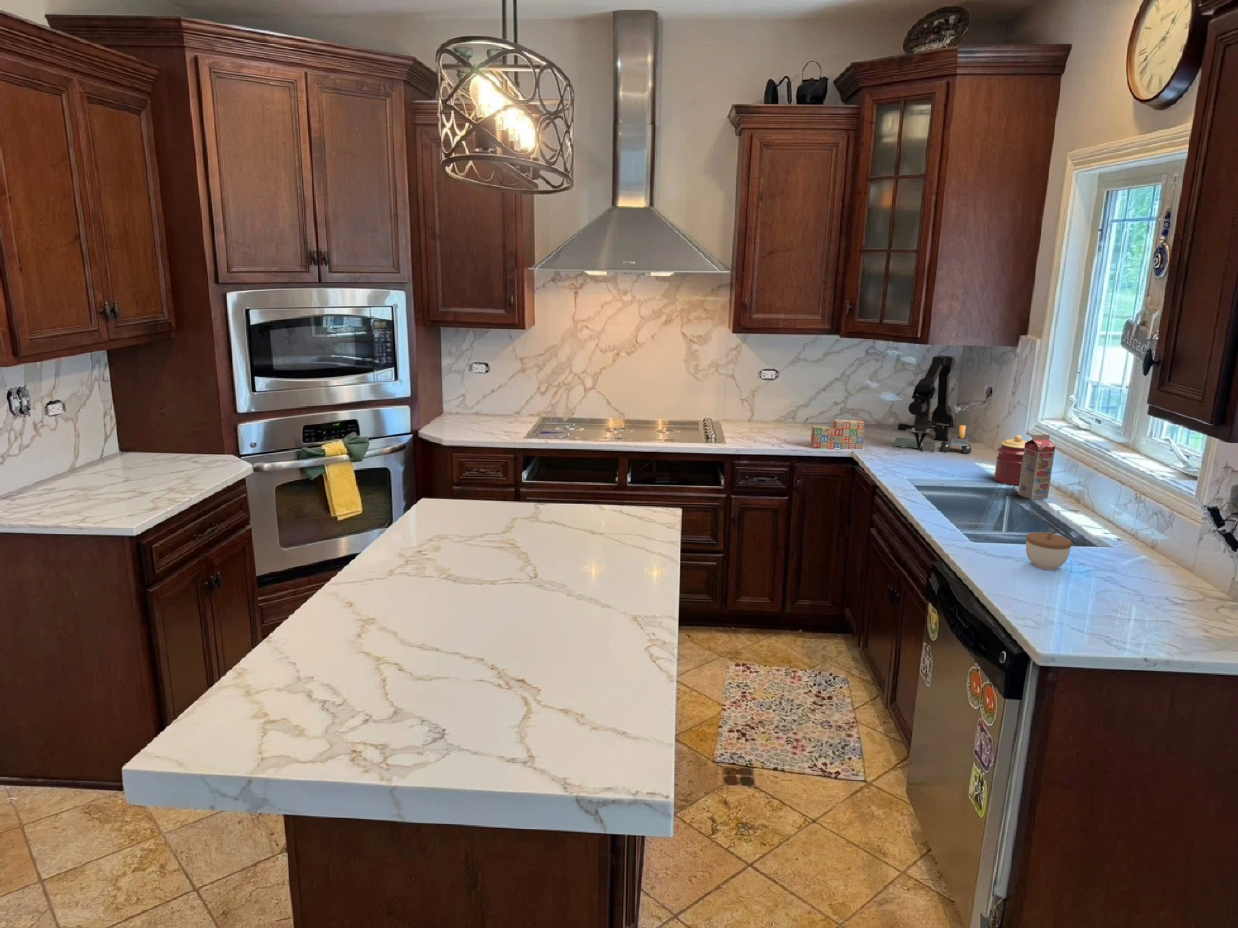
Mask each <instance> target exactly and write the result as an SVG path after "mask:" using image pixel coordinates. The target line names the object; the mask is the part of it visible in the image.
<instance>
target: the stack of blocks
mask: <svg viewBox="0 0 1238 928" xmlns="http://www.w3.org/2000/svg"><path fill="white" fill-rule="evenodd" d="M865 426H866V424H865V422H864V421H863V420H859V419H856V420H855V419H833V421H832V425H818V424H817V425H815V424H813V425H812V426H811V437H810V446H811V448H812V449H818V448H829V449H828V450H835V449H834V448H840V449H839V450H843V449H853V448H854V449H862V450H863V448H864V447H863V446H864V437H865Z"/></svg>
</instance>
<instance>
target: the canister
mask: <svg viewBox="0 0 1238 928" xmlns="http://www.w3.org/2000/svg"><path fill="white" fill-rule="evenodd" d="M1028 441H1029V440H1025V439H1023V437H1022V436H1021V435H1020V434H1019V435H1018V434H1017V435H1016V436H1014V438H1011V439H1010V438H1009V439H1005V440H1004V441H1000V445H1001V446H1000V447H998V448H997V451H998V455H997V456H996V463H995V471H994V473H993V474H994V475H993V476H994V480H995V481H996V482H999V483H1001V484H1004V485H1011V486H1019V483H1020V476H1021V469H1022V462H1023V454H1024V447H1025V443H1026V442H1028Z"/></svg>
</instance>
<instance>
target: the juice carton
mask: <svg viewBox="0 0 1238 928" xmlns="http://www.w3.org/2000/svg"><path fill="white" fill-rule="evenodd" d="M1031 437H1032V439H1030V440H1027V441H1028V442H1026V443H1025V447H1024V454H1023V462H1022V469H1021V476H1020V483H1019V485H1018V486H1019V487H1018V492H1017V493H1018V494H1017V495H1019V496H1021V497H1024V498H1026V499H1030V500H1042V499H1041V498H1049V492H1050V483H1051V478H1052V477H1051V476H1052V472H1053V464H1054V458H1055V452H1056V445H1055V444H1054V443H1053V442H1052V440H1050V434H1033V435H1032V436H1031Z"/></svg>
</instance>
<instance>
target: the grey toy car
mask: <svg viewBox="0 0 1238 928" xmlns="http://www.w3.org/2000/svg"><path fill="white" fill-rule="evenodd" d="M950 446H961V452H962V453H963V454H964V455H969V454H971V452H972V447H971V444H970V443H969V437H968V436H967V437H966V436H965V439H959V438H958V435H957V436H956V435H955V436H954V438H950V441H945V440H942V441H941V443H940V450H941V452H942V453H948V452H949V451H950V450H951V448H950Z"/></svg>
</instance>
